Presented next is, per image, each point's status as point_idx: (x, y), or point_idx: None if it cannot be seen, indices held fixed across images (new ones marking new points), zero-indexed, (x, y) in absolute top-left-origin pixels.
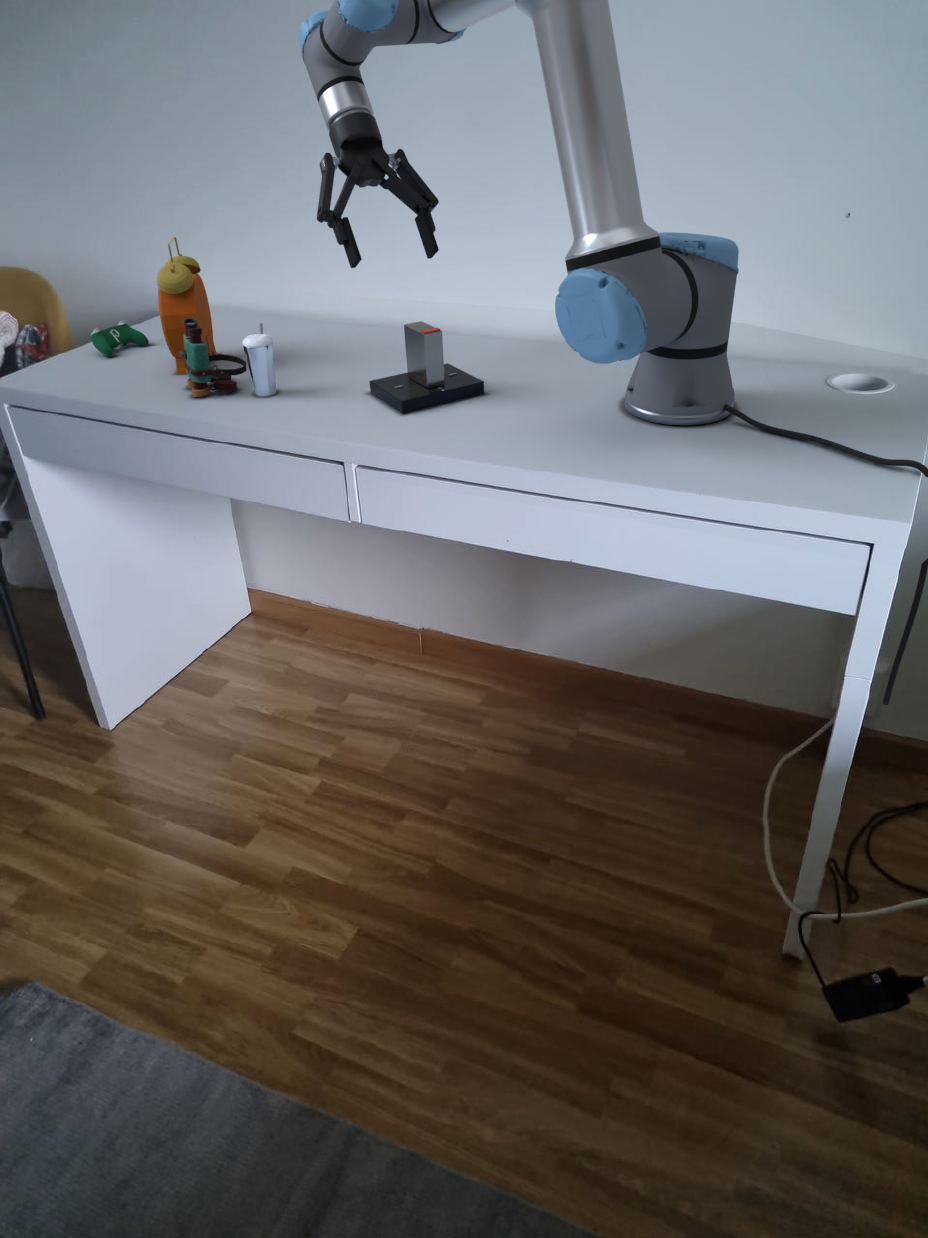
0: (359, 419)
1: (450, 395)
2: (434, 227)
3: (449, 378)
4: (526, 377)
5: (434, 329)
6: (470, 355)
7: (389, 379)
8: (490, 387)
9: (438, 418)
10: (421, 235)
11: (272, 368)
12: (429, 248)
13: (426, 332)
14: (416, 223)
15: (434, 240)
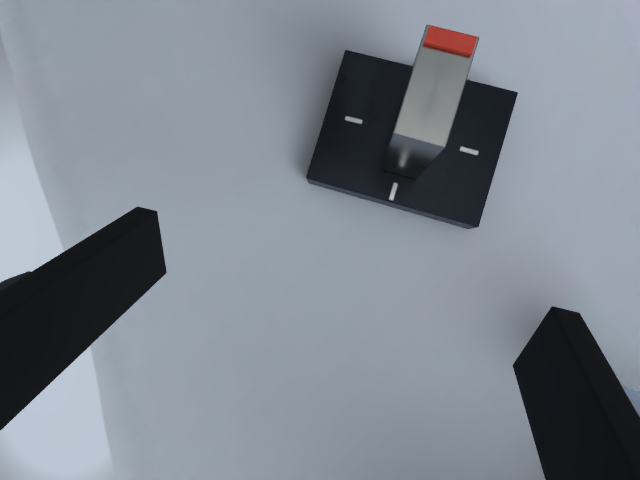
0: (573, 145)
1: None
2: (10, 283)
3: (371, 111)
4: (235, 66)
5: (442, 34)
6: (198, 231)
7: (447, 200)
8: (312, 79)
9: (480, 43)
10: (90, 332)
11: (635, 398)
12: (144, 256)
13: (470, 36)
14: (26, 400)
15: (110, 229)
